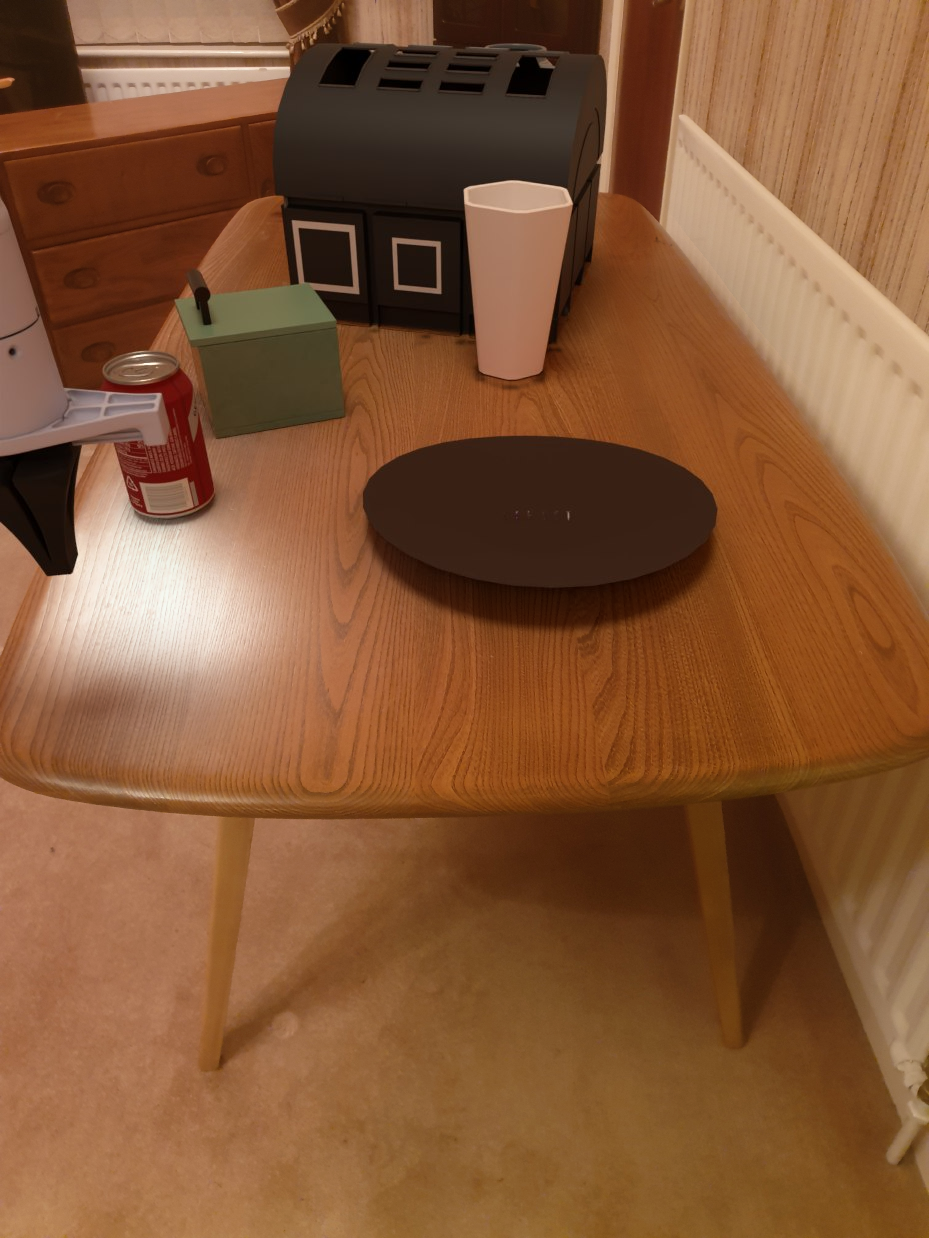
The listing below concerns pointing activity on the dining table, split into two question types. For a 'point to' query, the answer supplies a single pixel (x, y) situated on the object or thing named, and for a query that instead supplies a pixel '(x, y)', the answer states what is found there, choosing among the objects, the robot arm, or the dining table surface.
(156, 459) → the soda can
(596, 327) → the dining table surface
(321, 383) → the bin
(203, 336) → the bread bin lid
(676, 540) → the plate
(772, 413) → the dining table surface
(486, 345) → the cup
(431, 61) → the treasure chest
